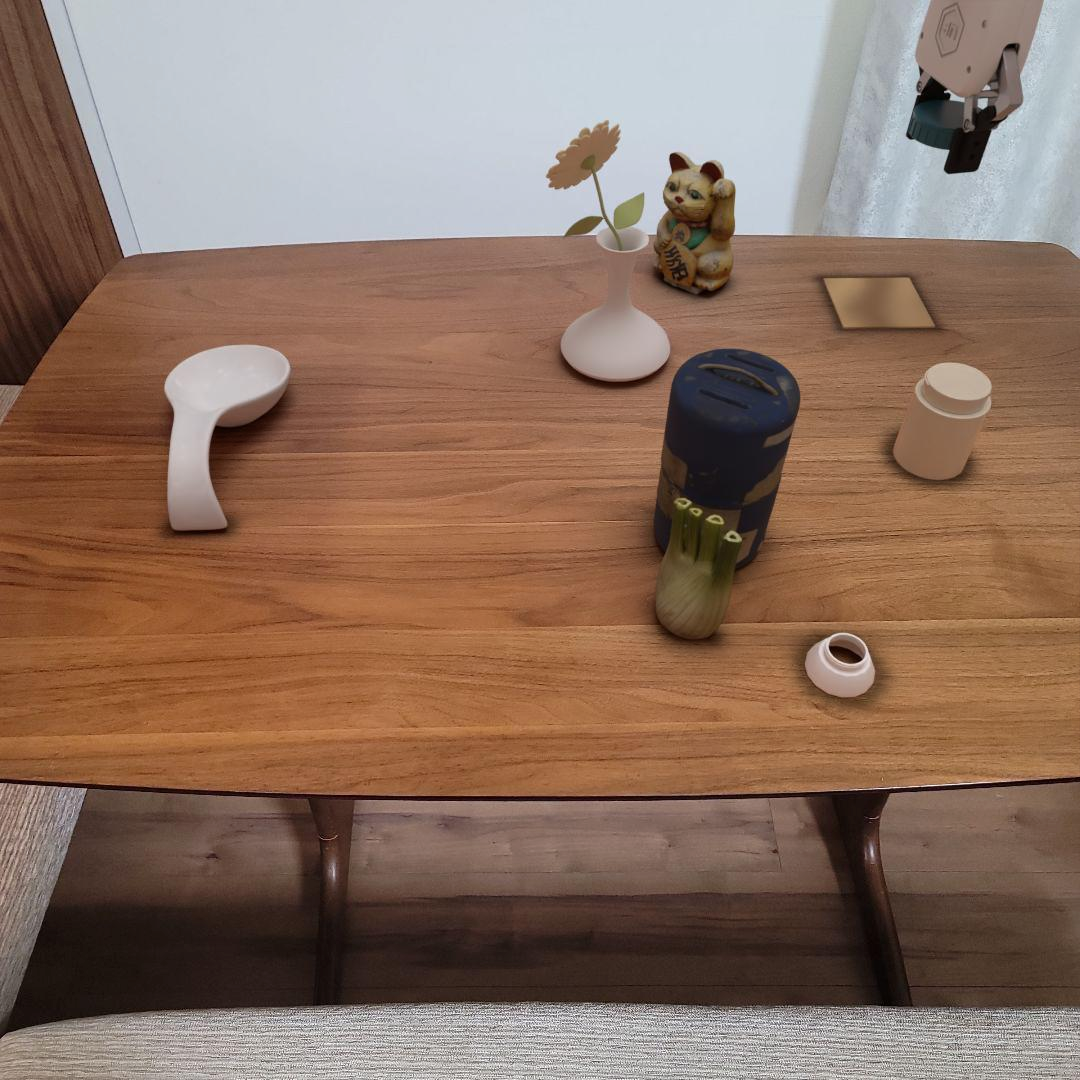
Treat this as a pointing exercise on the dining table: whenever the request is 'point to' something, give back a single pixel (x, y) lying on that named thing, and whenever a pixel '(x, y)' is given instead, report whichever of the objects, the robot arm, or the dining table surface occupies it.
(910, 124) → the lid
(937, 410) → the jar
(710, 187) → the decorative figurine
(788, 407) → the canister
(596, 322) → the flower in vase
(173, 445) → the spoon rest
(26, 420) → the dining table surface
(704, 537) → the fennel bulb
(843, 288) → the coaster
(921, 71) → the robot arm
